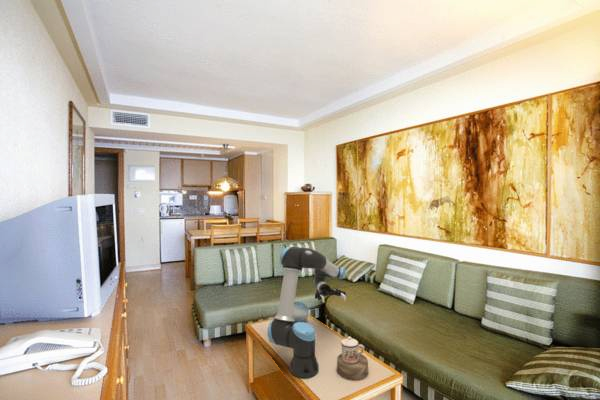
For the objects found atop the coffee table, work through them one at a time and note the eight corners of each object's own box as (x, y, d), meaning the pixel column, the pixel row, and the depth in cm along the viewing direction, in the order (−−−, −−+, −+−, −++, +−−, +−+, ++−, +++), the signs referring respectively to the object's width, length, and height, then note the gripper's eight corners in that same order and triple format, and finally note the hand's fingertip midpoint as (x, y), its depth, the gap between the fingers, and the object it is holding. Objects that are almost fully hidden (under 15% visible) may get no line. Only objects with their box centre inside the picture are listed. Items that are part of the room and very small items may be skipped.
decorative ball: (312, 322, 212) (312, 301, 212) (299, 329, 201) (299, 307, 201) (297, 316, 222) (297, 297, 222) (283, 323, 211) (283, 303, 210)
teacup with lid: (343, 364, 147) (342, 341, 147) (340, 356, 156) (339, 334, 156) (366, 363, 147) (365, 340, 148) (361, 354, 156) (360, 332, 157)
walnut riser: (359, 385, 140) (359, 372, 140) (331, 373, 150) (331, 361, 150) (373, 369, 153) (373, 358, 153) (346, 359, 163) (346, 348, 163)
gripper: (341, 292, 197) (354, 303, 176) (306, 296, 192) (314, 307, 171) (341, 281, 197) (353, 291, 176) (306, 284, 192) (314, 295, 171)
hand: (334, 299), depth 174 cm, fingers open, 13 cm apart
